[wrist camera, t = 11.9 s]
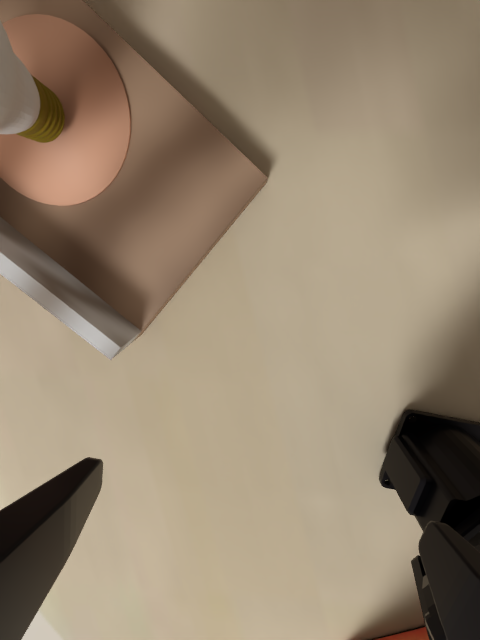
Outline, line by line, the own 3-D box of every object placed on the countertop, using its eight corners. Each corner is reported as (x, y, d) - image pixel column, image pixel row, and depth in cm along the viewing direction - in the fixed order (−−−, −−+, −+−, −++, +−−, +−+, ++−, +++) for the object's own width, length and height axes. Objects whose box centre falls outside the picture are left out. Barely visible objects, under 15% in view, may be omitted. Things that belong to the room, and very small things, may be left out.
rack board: (266, 182, 18) (269, 165, 14) (141, 334, 21) (110, 360, 17) (-57, -127, 15) (-183, -272, 11) (-146, 102, 18) (-271, 61, 14)
